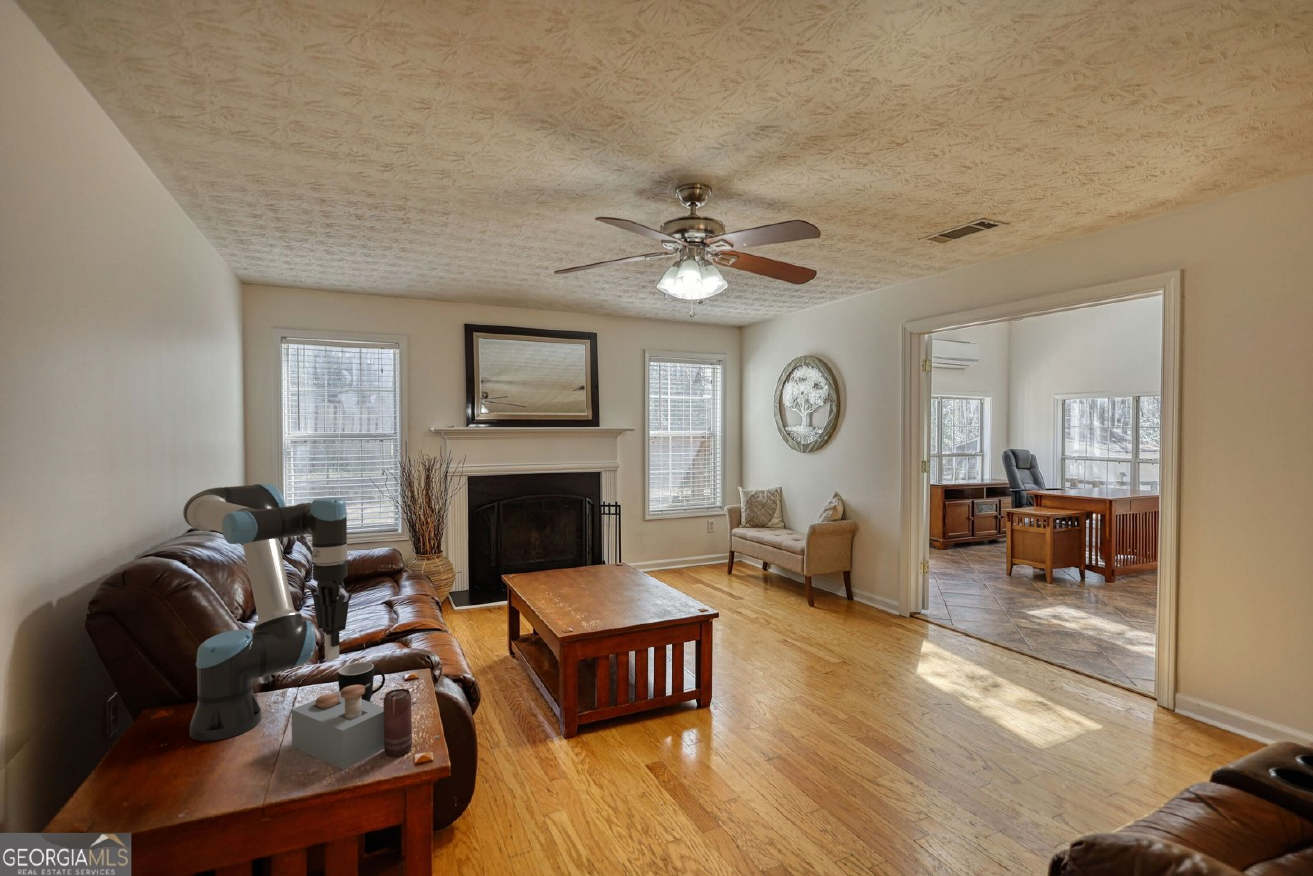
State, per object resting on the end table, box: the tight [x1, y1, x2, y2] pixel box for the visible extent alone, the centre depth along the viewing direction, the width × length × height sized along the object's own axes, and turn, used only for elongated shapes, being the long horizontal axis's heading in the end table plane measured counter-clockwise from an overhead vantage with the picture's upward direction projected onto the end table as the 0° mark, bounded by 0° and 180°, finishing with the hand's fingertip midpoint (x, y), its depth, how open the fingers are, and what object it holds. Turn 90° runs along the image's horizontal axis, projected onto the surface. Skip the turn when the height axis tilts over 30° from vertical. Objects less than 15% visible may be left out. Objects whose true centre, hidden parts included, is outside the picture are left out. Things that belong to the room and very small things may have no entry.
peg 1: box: [315, 693, 340, 710], centre depth 153 cm, size 5×5×10 cm
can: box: [382, 688, 413, 758], centre depth 149 cm, size 6×6×14 cm
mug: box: [337, 661, 386, 702], centre depth 174 cm, size 12×9×10 cm
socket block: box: [291, 690, 384, 770], centre depth 151 cm, size 20×12×9 cm, turn 60°
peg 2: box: [341, 685, 365, 721], centre depth 148 cm, size 5×5×10 cm
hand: (332, 658), depth 152 cm, fingers closed
